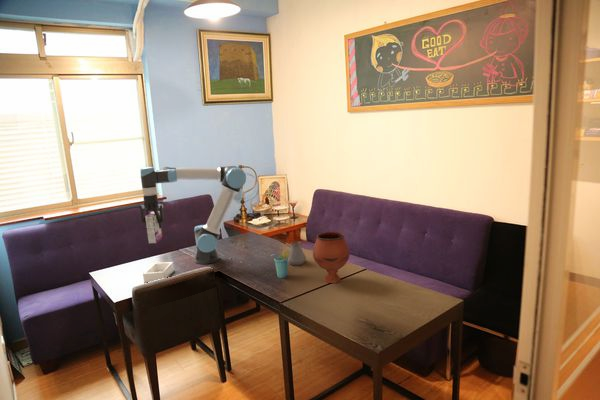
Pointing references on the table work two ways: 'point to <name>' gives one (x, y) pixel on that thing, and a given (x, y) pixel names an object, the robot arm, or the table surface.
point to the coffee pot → (295, 253)
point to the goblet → (331, 254)
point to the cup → (281, 264)
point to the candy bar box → (152, 228)
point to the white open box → (158, 271)
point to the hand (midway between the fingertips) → (154, 233)
